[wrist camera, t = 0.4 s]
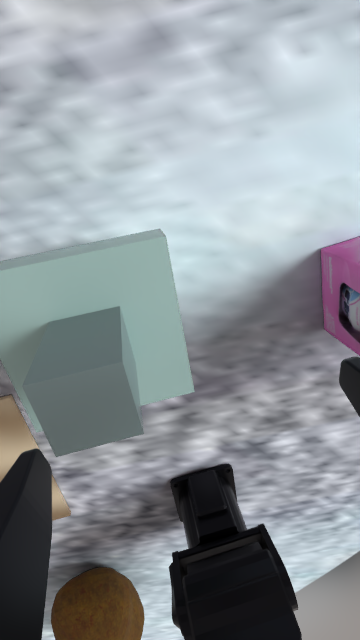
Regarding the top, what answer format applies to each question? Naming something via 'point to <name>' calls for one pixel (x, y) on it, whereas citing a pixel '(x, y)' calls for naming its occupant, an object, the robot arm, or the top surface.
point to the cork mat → (22, 449)
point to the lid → (93, 337)
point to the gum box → (342, 292)
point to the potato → (98, 608)
